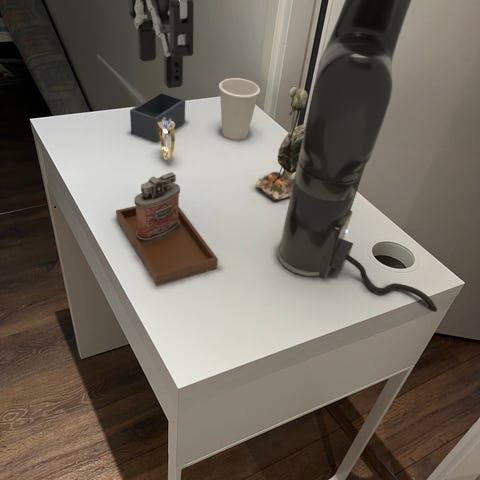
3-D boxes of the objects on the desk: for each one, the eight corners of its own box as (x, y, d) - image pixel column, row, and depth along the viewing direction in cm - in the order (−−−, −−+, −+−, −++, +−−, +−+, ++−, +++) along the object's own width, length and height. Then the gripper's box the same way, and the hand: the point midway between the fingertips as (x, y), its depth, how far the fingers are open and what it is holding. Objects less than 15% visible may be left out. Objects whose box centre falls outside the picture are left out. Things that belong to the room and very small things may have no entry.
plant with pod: (316, 190, 97) (343, 86, 82) (270, 205, 92) (290, 96, 77) (291, 169, 101) (312, 66, 86) (245, 182, 96) (259, 75, 81)
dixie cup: (236, 120, 113) (240, 74, 105) (261, 136, 109) (268, 90, 102) (207, 129, 108) (210, 82, 101) (233, 146, 105) (238, 99, 97)
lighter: (144, 246, 79) (142, 192, 72) (132, 235, 81) (128, 182, 74) (183, 227, 84) (185, 175, 76) (170, 218, 85) (171, 165, 78)
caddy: (184, 122, 109) (185, 100, 106) (156, 143, 102) (155, 119, 99) (160, 114, 111) (160, 91, 107) (131, 133, 104) (129, 110, 100)
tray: (216, 268, 79) (217, 258, 77) (156, 285, 75) (156, 275, 73) (172, 207, 88) (172, 197, 87) (116, 220, 84) (115, 210, 83)
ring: (177, 167, 97) (178, 128, 91) (161, 168, 96) (160, 129, 90) (170, 149, 101) (171, 110, 95) (155, 150, 100) (154, 111, 94)
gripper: (101, -98, 56) (113, 54, 68) (151, -66, 49) (155, 99, 61) (163, -96, 59) (164, 49, 71) (218, -66, 52) (209, 92, 64)
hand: (160, 72), depth 66 cm, fingers open, 8 cm apart
